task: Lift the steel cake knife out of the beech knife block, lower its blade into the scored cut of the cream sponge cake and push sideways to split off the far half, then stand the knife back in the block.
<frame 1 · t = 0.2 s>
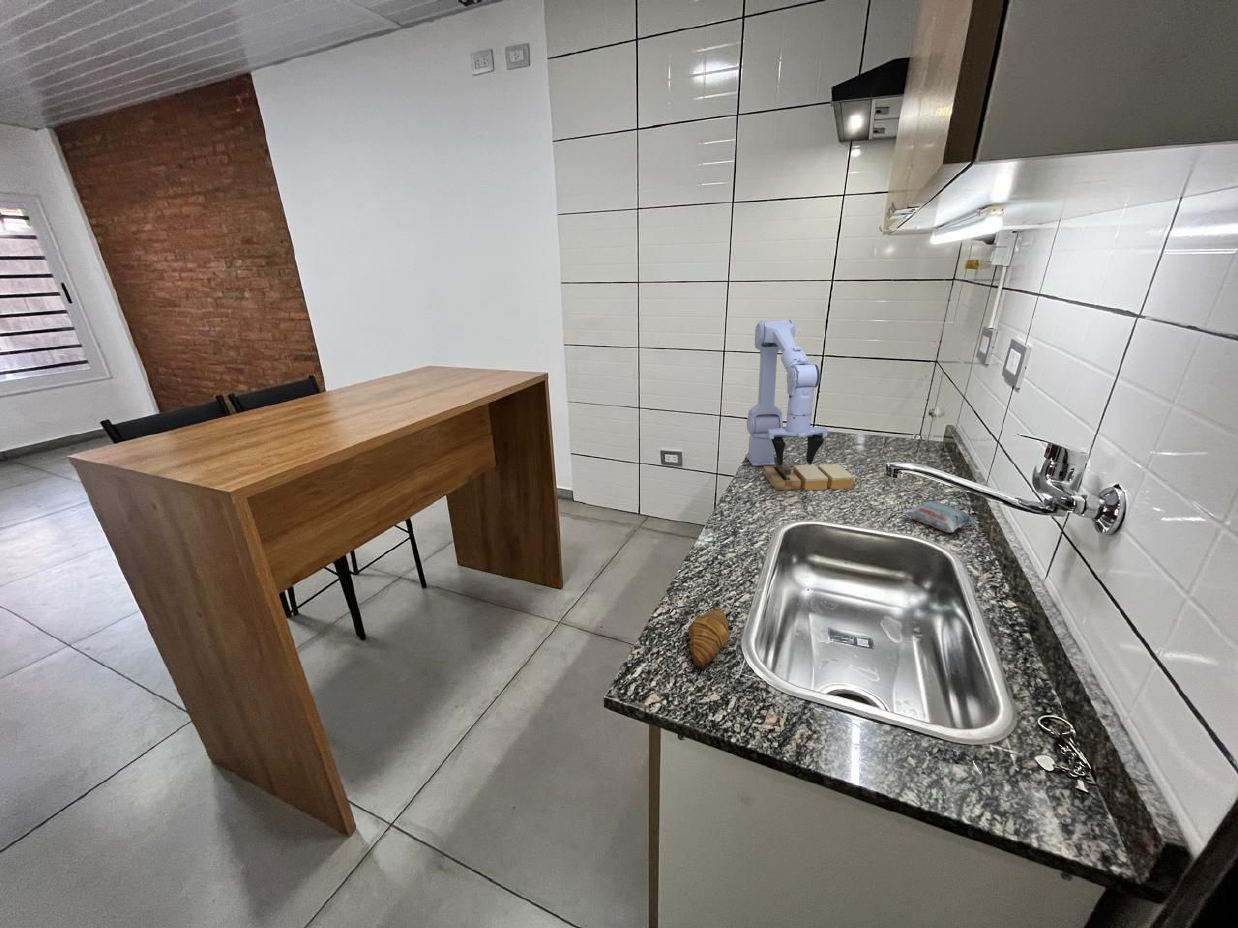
hand: (794, 463, 126), 10 cm above the table, tool pointing down, fingers open, 7 cm apart
knife block: (780, 481, 140), on the table
knife: (781, 472, 139), in the knife block
packaged food: (936, 526, 113), on the table
cake half near: (808, 482, 138), on the table
cake half far: (834, 481, 138), on the table
croissant: (708, 643, 80), on the table
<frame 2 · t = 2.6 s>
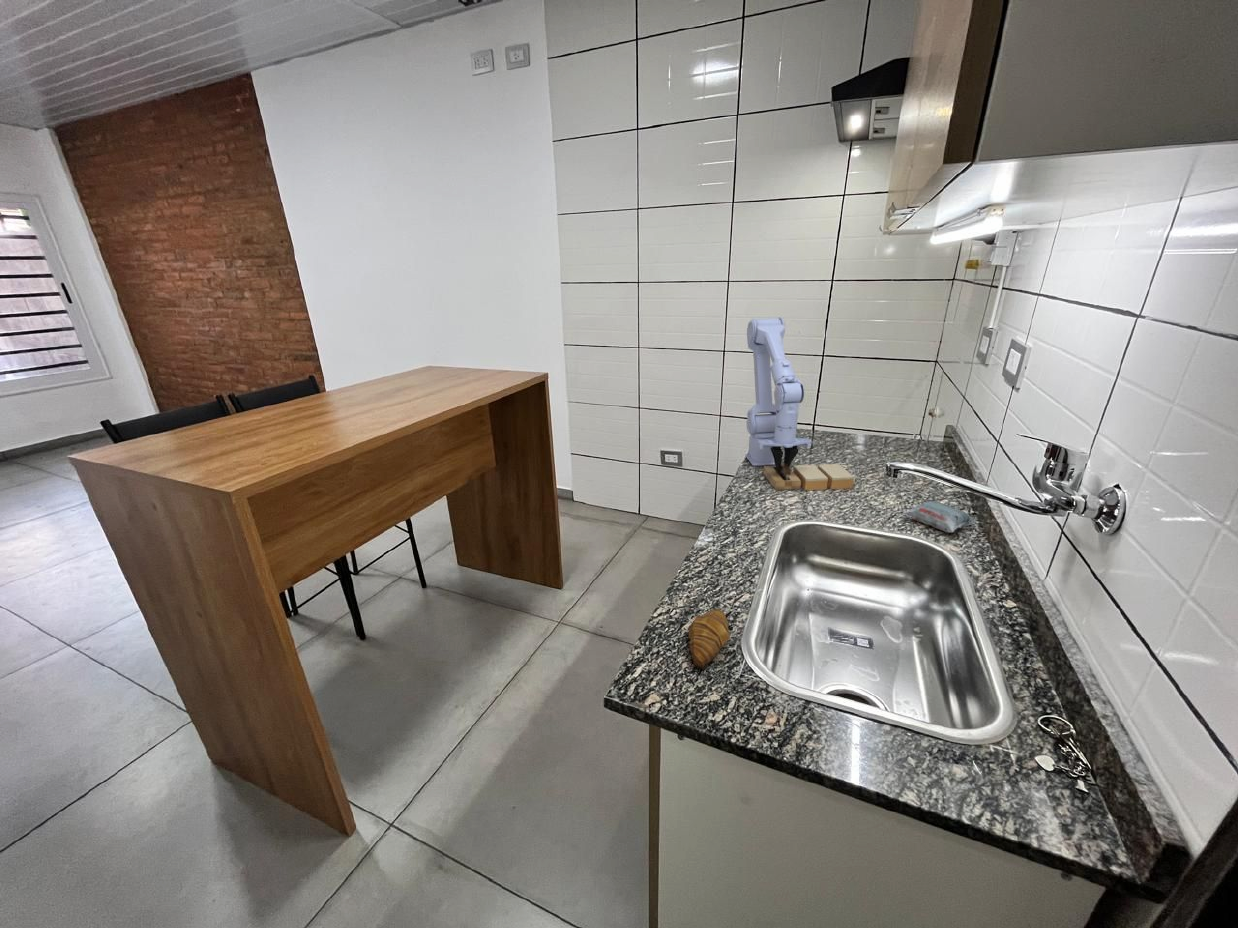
hand: (781, 470, 139), 3 cm above the table, tool pointing down, fingers closed on knife, 1 cm apart
knife: (781, 472, 139), in the knife block, touching gripper
everything else where it was.
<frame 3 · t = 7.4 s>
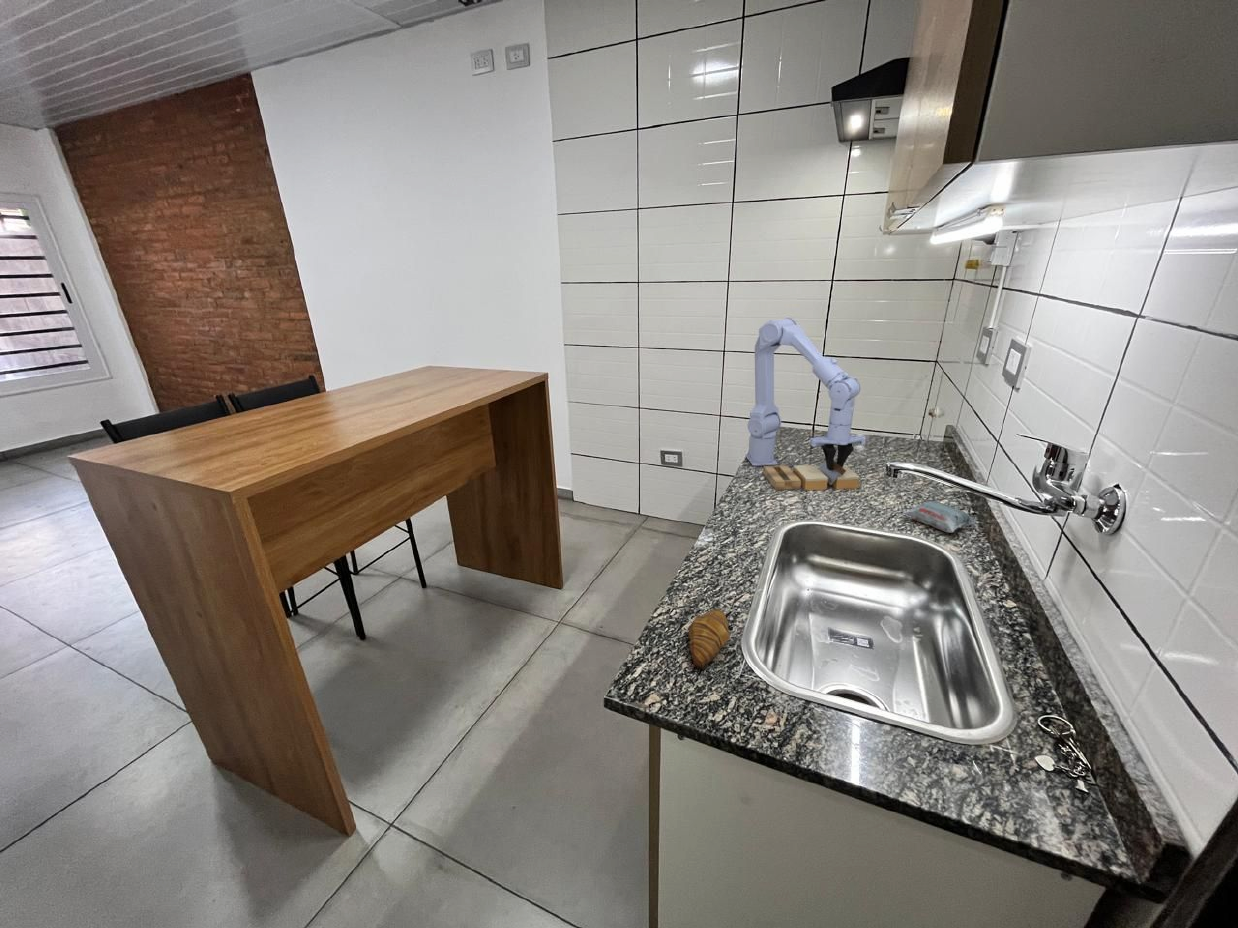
hand: (834, 468, 137), 4 cm above the table, tool pointing down, fingers closed on knife, 2 cm apart
knife: (829, 470, 137), point 4 cm above the table, tilted 35°, touching cake half far, gripper
cake half far: (839, 481, 138), on the table, touching knife
everything else where it was.
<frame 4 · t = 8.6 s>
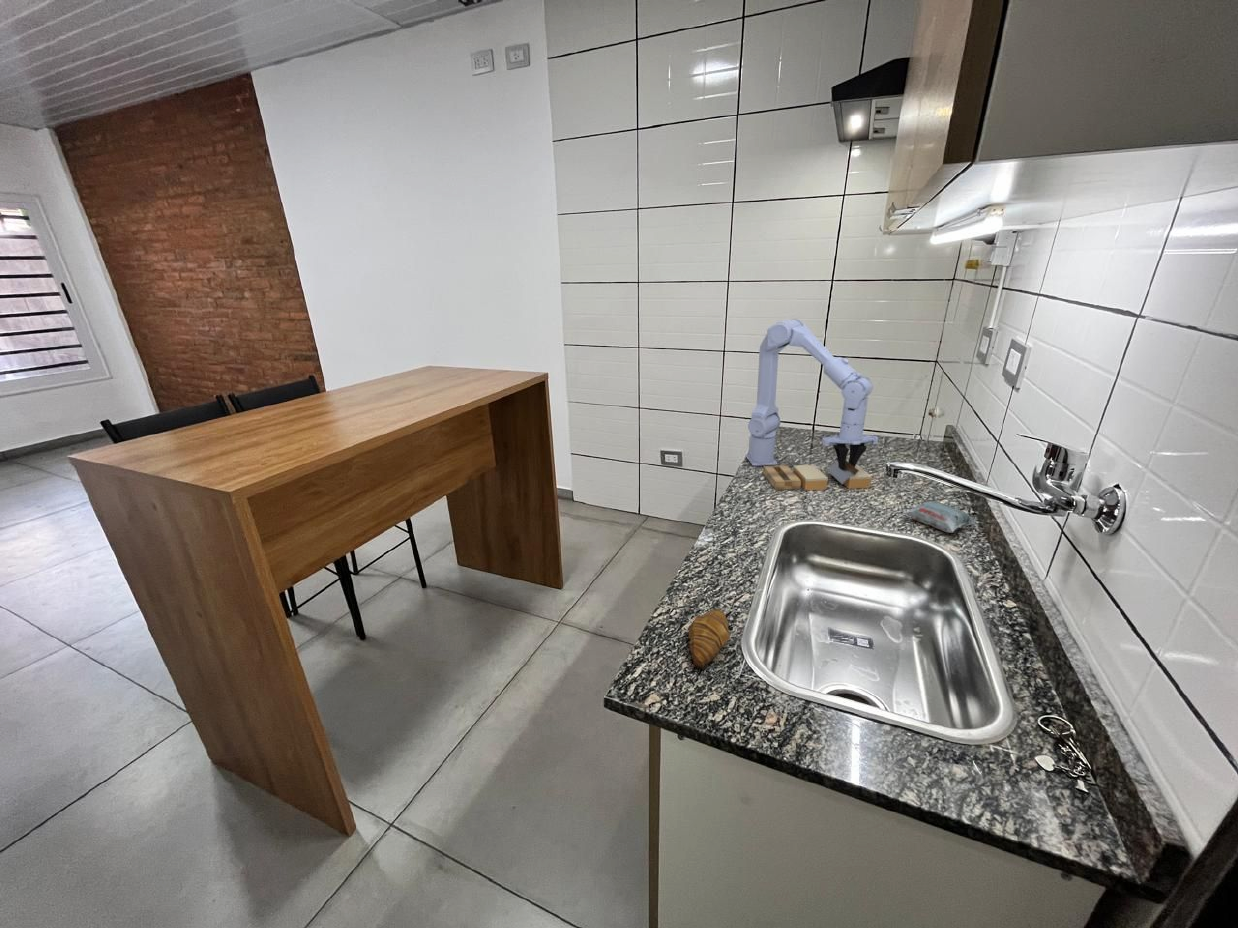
hand: (846, 468, 137), 4 cm above the table, tool pointing down, fingers closed on knife, 2 cm apart
knife: (841, 470, 137), point 4 cm above the table, tilted 38°, touching cake half far, gripper
cake half far: (851, 481, 138), on the table, touching knife
everything else where it was.
when the fingers open (5 cm above the table, at t = 13.3 s): knife drops 2 cm and tips over, resting on knife block.
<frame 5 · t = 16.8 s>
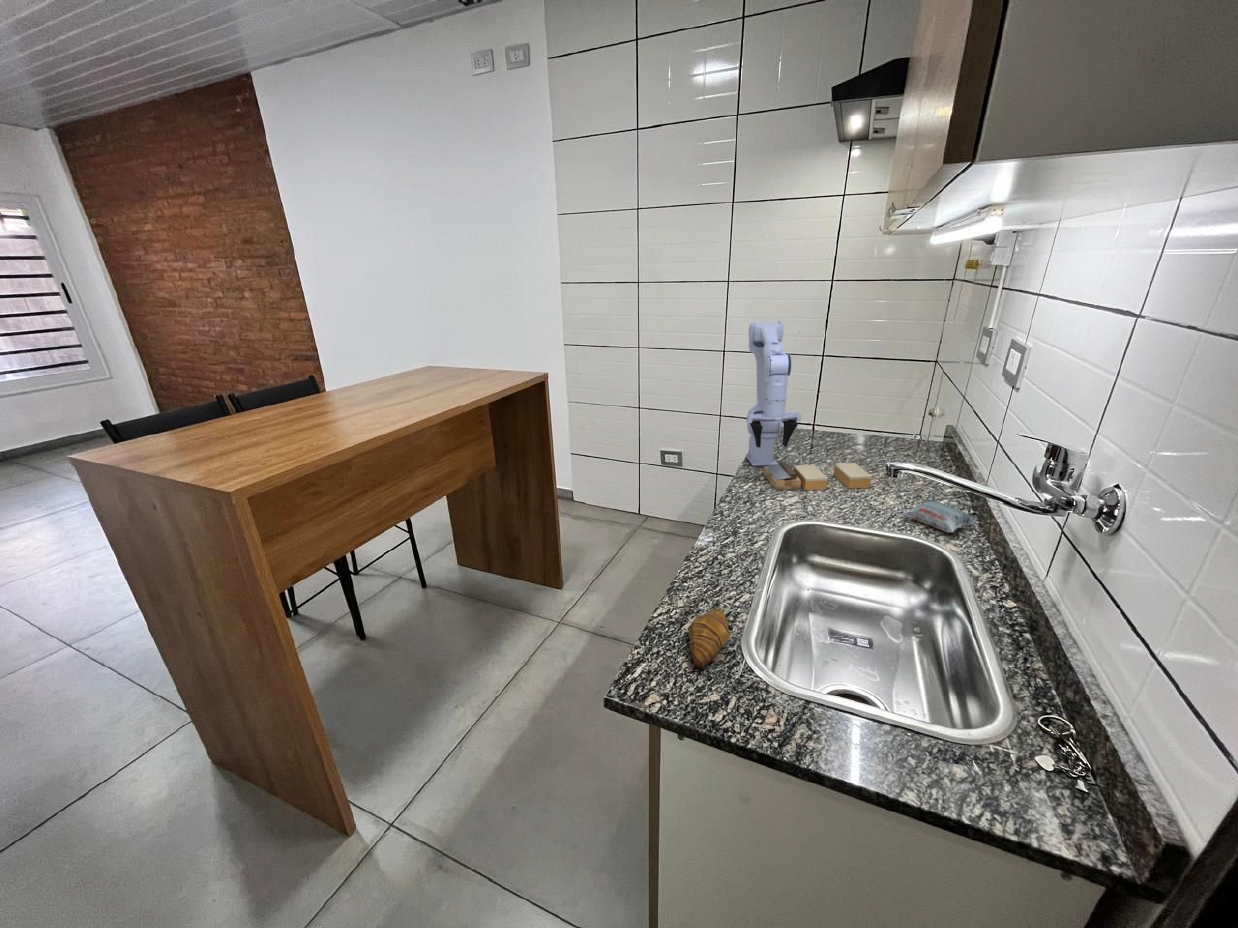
hand: (771, 446, 138), 10 cm above the table, tool pointing down, fingers open, 7 cm apart
knife: (780, 471, 139), point 3 cm above the table, tilted 81°, touching knife block
cake half far: (851, 481, 138), on the table
everything else where it was.
at the end: cake half far moved 4.9 cm from its start; cake half near moved 0.0 cm from its start; knife 3.1 cm off-centre on the knife block, point 3.1 cm above the knife block's base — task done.
